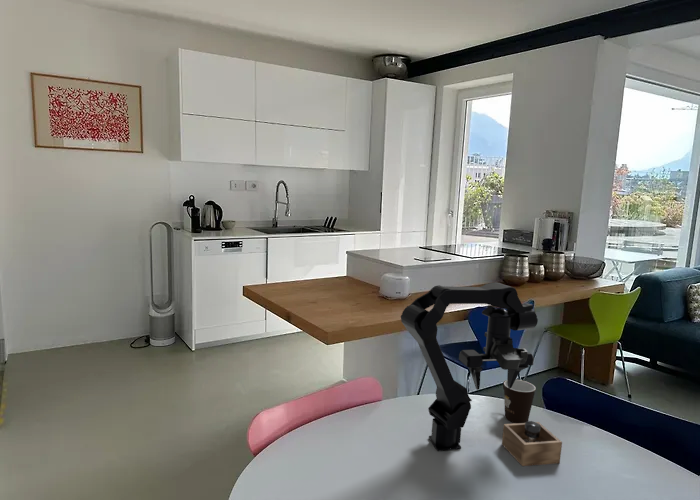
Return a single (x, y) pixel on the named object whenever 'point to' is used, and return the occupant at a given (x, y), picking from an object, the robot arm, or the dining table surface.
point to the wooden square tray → (531, 445)
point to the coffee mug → (518, 401)
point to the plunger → (532, 431)
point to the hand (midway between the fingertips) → (493, 388)
